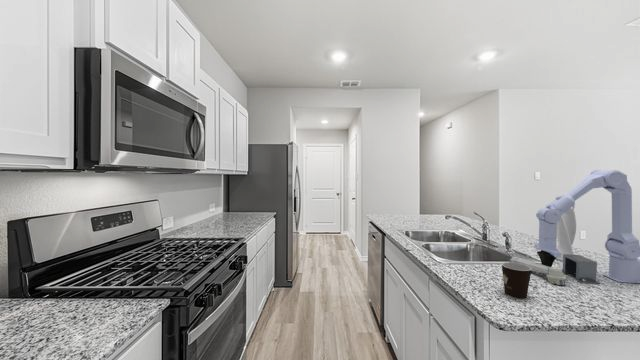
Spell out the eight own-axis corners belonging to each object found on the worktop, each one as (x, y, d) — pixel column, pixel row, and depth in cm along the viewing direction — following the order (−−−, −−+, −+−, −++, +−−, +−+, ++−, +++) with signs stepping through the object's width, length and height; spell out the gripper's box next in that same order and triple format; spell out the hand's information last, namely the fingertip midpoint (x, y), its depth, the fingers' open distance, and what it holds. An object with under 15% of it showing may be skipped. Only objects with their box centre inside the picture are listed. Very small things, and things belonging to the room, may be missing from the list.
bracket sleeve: (574, 271, 123) (574, 253, 123) (601, 284, 109) (602, 264, 109) (557, 270, 124) (557, 252, 124) (581, 283, 110) (582, 263, 110)
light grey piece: (518, 256, 133) (568, 266, 108) (519, 270, 132) (570, 285, 107) (507, 256, 132) (555, 267, 107) (508, 271, 132) (557, 285, 107)
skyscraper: (581, 263, 134) (583, 203, 133) (564, 263, 134) (566, 203, 133) (566, 257, 142) (568, 201, 141) (549, 257, 142) (551, 201, 141)
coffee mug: (532, 302, 94) (532, 272, 94) (501, 296, 99) (501, 267, 98) (528, 289, 104) (529, 262, 104) (500, 284, 109) (501, 258, 108)
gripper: (527, 232, 126) (526, 263, 127) (547, 241, 112) (546, 275, 112) (545, 233, 125) (544, 264, 126) (567, 241, 111) (566, 276, 111)
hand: (546, 269), depth 119 cm, fingers closed
